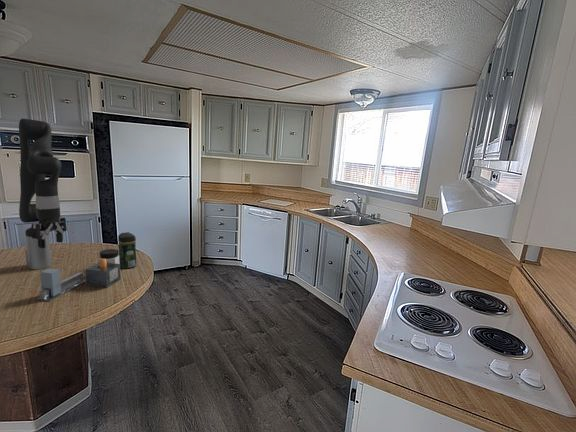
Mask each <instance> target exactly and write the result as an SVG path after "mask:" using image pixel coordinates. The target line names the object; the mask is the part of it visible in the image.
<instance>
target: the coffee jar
mask: <svg viewBox="0 0 576 432" xmlns="http://www.w3.org/2000/svg"><path fill="white" fill-rule="evenodd" d="M117 237H118V238H117V241H118V255H119V262H120V268H122V269H132V268H135V267H137V251H136V250H137V247H136V244H137V242H136V236H135V235H134V234H133V233H131V232H128V231H127V232H121V233H120V234H118V236H117Z"/></svg>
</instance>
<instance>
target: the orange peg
mask: <svg viewBox="0 0 576 432" xmlns="http://www.w3.org/2000/svg"><path fill="white" fill-rule="evenodd" d="M99 261H100V268H106V267H107V261H106V259H100V260H99V259H98V262H99Z"/></svg>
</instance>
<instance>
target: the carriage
mask: <svg viewBox="0 0 576 432" xmlns="http://www.w3.org/2000/svg"><path fill="white" fill-rule="evenodd" d="M39 274H40V283H41V291H42V290H44V289H46V288H48V289H51V296H55V295H57V294H59V293H61V281H62V280H61V270H60V269H59V268H57V269H56V268H45V269H44V270H42V271H40V272H39Z"/></svg>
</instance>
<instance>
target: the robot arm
mask: <svg viewBox="0 0 576 432" xmlns="http://www.w3.org/2000/svg"><path fill="white" fill-rule="evenodd" d="M18 136H19V137H18V138H19V148H20V150H19V152H20V159H19V161H20V162H19V163H20V165H19V182H20V185H19V186H20V197H19V206H18V207H19V209H18V211H19V214H18V216H19V219H20V221H21V222H22V223H25V224H26V223H28V224H29V223H31V227H28V228H26V230H25V232H24V233H25V234H24V235H25V241H26V243H25V244H26V249H25V250H24V251H25V260H26V261H25V262H26V268H28V269H30V270H43V269H48V268H50V267H51V266H52V253H51V242H50V241H51V240H50V232H53V231H54V232H55V237H56V238H55V239H56V242H57V243H63V241H64V237H63V236H64V235H63V234H64V232H67V231H68V230H67V220H66V218H65V217H61V205H60V198H59V191H58V190H59V189H58V182H59V178H60V173H61V170H62V162H61V160H60V159H59V158H58V157H55V156H54V153H53V149H52V141H53V140H52V128H51V125H50V124H49V123H48V122H47V121H42V120H37V119H30V118H20V120H19V121H18ZM29 141H32V143H31V144H30V142H29ZM46 175H48V176H49V175H50V177H49V178H47V179H46ZM34 196H35V203H31V202H32V199H33V197H34Z"/></svg>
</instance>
